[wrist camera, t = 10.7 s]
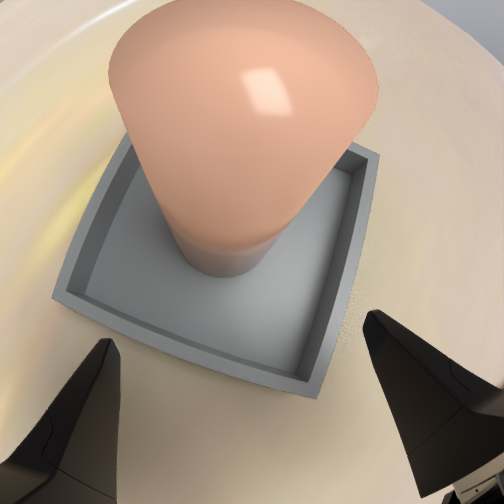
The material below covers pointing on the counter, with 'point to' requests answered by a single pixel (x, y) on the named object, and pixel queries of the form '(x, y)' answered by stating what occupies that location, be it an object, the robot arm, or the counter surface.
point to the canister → (238, 117)
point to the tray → (223, 289)
